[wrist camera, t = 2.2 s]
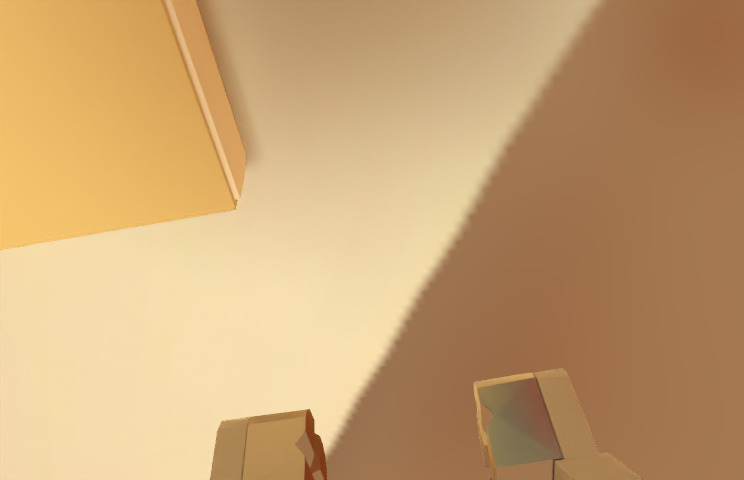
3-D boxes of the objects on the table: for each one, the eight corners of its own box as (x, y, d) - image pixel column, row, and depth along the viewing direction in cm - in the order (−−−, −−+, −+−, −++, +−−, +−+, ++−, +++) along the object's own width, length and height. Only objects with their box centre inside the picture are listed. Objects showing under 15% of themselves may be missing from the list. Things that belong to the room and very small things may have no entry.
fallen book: (-206, -27, 24) (-286, 9, 21) (166, -99, 23) (142, -73, 20) (-42, 210, 31) (-83, 263, 27) (249, 159, 30) (241, 208, 27)
